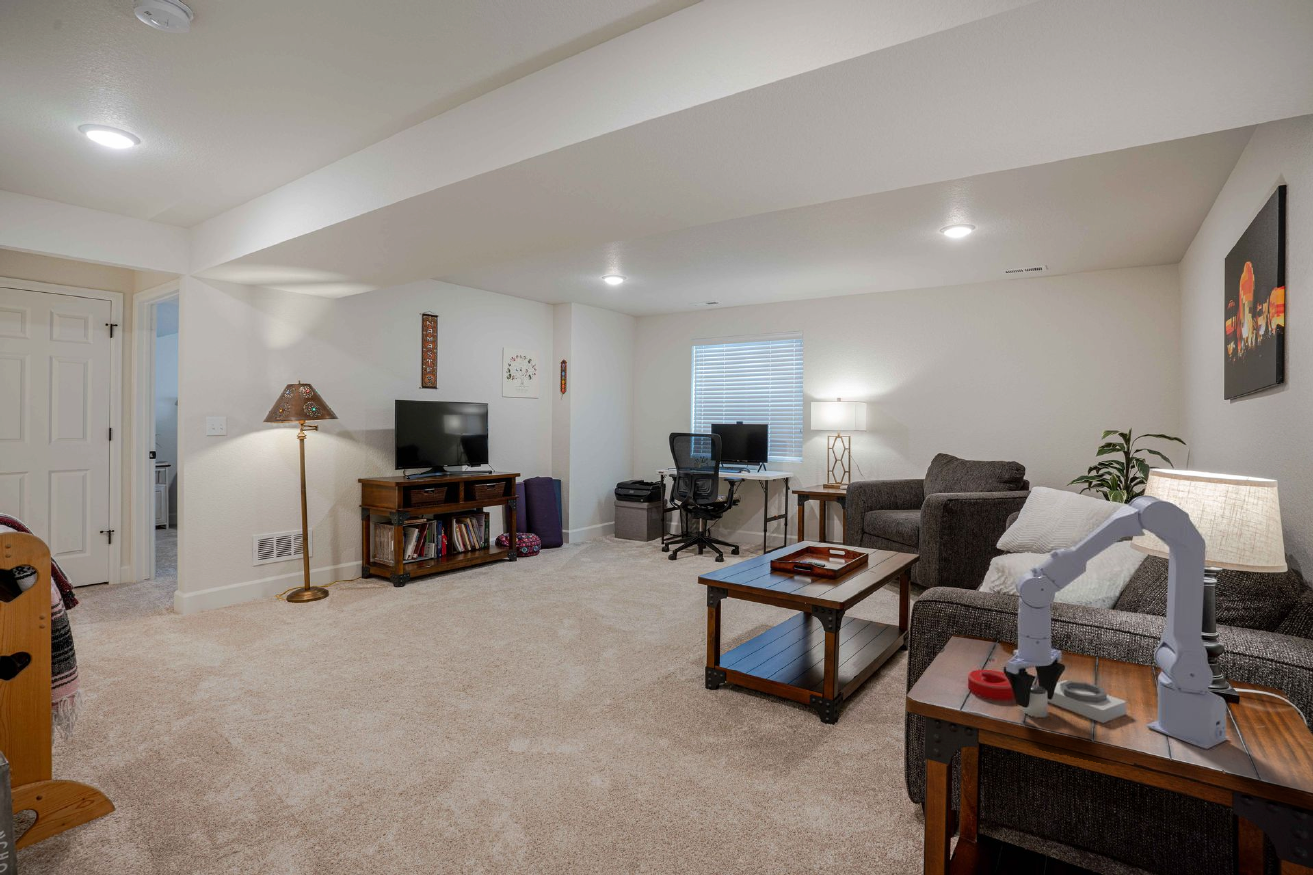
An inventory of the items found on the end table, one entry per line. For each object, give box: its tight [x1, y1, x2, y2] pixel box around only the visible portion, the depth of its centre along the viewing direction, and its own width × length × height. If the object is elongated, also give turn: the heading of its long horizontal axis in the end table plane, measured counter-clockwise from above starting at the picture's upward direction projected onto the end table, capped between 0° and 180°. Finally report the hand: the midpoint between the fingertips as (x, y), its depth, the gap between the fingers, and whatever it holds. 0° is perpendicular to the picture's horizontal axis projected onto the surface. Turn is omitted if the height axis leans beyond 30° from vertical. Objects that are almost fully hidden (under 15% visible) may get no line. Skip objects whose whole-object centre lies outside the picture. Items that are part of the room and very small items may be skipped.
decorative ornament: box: [967, 669, 1015, 701], centre depth 140 cm, size 10×10×3 cm
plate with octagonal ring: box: [1047, 679, 1127, 724], centre depth 132 cm, size 12×8×4 cm, turn 26°
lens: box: [1021, 683, 1048, 718], centre depth 130 cm, size 4×4×5 cm
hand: (1034, 701), depth 130 cm, fingers open, 7 cm apart
